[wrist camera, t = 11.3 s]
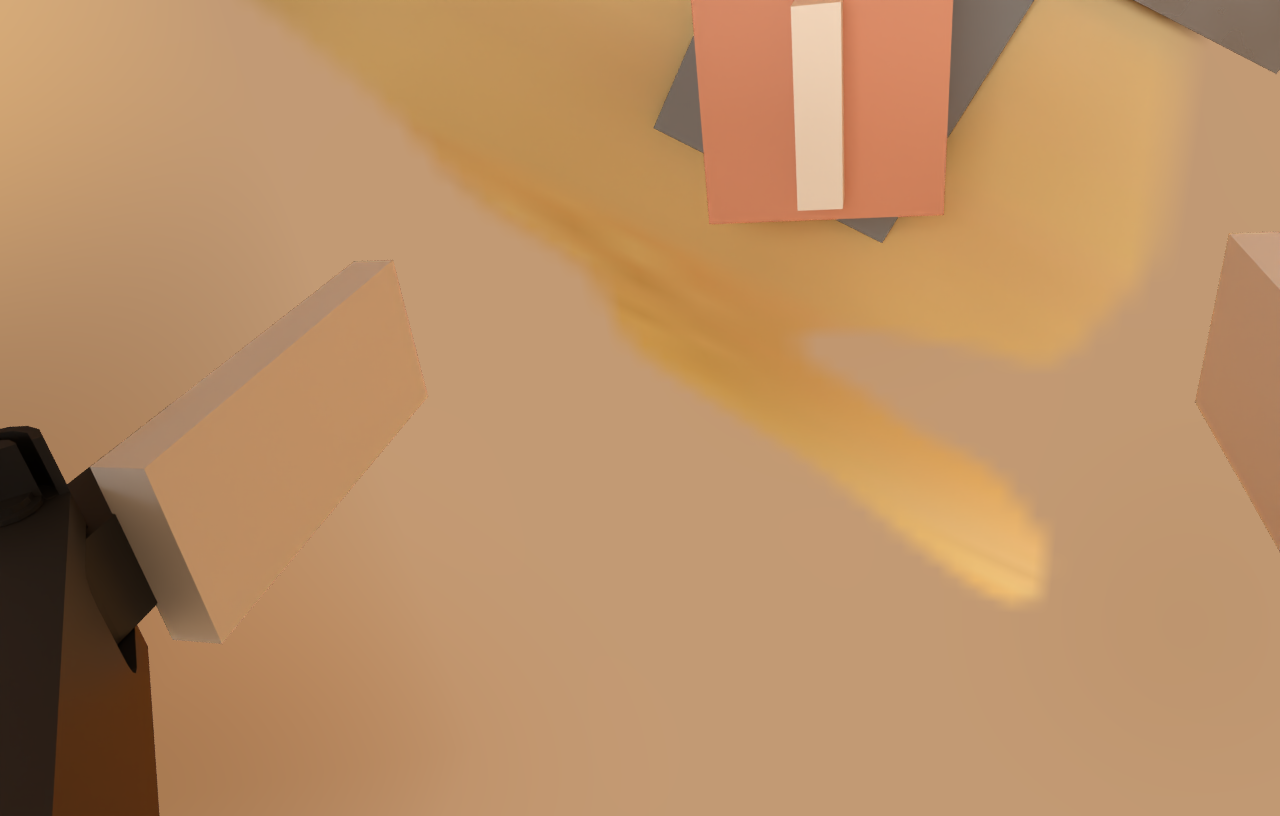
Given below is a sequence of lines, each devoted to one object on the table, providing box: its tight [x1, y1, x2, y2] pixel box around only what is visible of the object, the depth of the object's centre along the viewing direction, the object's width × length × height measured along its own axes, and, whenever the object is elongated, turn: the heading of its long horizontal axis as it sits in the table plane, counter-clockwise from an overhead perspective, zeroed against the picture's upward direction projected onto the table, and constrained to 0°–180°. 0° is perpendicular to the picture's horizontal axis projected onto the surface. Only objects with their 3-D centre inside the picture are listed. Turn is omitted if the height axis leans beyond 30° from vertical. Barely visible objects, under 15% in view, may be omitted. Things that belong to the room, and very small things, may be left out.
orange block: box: [691, 0, 953, 224], centre depth 31 cm, size 8×8×7 cm
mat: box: [654, 0, 1034, 243], centre depth 34 cm, size 10×10×1 cm
